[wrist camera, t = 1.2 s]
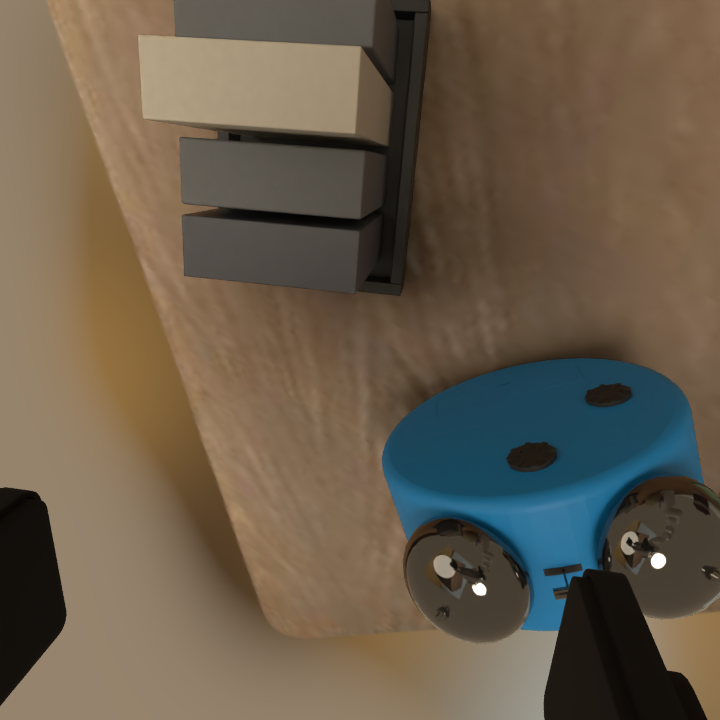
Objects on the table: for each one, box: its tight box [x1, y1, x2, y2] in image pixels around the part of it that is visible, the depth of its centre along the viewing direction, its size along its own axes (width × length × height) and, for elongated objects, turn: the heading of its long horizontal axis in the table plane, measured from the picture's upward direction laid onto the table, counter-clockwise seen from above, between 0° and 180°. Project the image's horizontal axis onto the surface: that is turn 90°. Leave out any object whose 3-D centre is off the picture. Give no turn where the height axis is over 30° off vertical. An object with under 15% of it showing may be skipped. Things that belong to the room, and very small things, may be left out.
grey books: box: [174, 0, 399, 294], centre depth 24 cm, size 11×7×8 cm, turn 176°
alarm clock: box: [382, 358, 720, 644], centre depth 24 cm, size 13×6×15 cm, turn 109°
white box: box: [138, 35, 394, 147], centre depth 22 cm, size 2×7×11 cm, turn 86°
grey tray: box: [218, 0, 431, 296], centre depth 27 cm, size 13×10×2 cm
